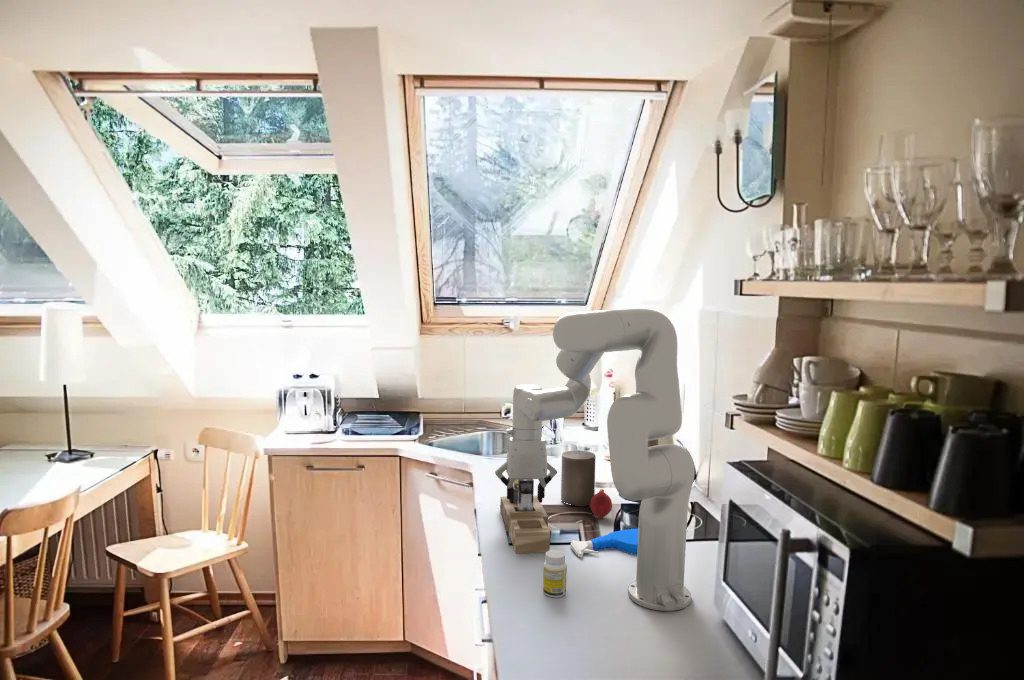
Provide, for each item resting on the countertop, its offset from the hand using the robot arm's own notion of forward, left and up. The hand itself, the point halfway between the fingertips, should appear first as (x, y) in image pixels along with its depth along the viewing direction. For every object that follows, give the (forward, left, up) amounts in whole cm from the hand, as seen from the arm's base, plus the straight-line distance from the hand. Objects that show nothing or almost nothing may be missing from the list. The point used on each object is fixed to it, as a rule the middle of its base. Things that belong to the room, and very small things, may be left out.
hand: (525, 500), depth 178 cm
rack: (-12, +1, -7) cm, 14 cm away
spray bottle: (-16, -21, -7) cm, 27 cm away
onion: (+3, -21, -7) cm, 22 cm away
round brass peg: (+8, 0, -1) cm, 9 cm away
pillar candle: (+17, -18, -7) cm, 26 cm away
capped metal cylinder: (0, 0, -7) cm, 7 cm away
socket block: (+3, 0, -7) cm, 7 cm away
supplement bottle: (-37, 0, -7) cm, 38 cm away
